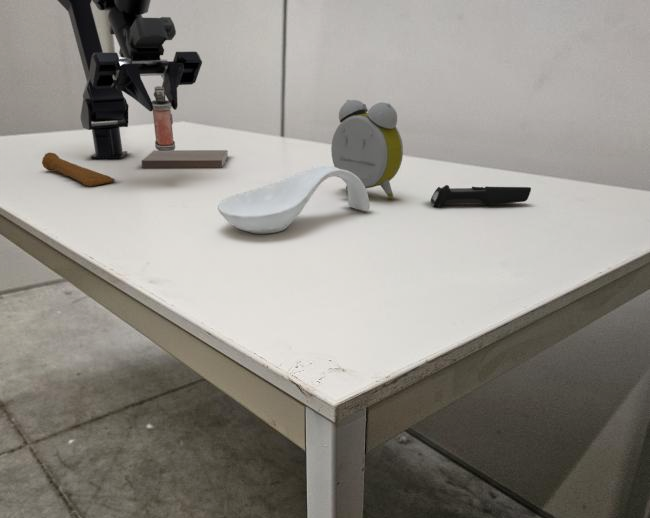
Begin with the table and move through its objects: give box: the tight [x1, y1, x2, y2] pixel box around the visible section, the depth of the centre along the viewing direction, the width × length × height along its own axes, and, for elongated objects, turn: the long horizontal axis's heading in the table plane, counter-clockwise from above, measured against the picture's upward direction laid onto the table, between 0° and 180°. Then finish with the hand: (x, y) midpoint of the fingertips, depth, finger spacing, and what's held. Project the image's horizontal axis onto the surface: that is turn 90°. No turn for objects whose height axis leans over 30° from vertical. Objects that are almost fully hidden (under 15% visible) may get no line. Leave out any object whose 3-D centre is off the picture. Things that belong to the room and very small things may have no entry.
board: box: [141, 149, 229, 169], centre depth 129 cm, size 12×16×2 cm
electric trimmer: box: [430, 184, 532, 208], centre depth 98 cm, size 4×16×3 cm, turn 91°
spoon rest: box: [217, 165, 371, 235], centre depth 88 cm, size 24×12×7 cm, turn 127°
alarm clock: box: [330, 99, 404, 200], centre depth 100 cm, size 12×7×15 cm, turn 47°
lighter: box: [151, 85, 176, 151], centre depth 107 cm, size 8×3×10 cm, turn 16°
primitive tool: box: [41, 152, 115, 187], centre depth 115 cm, size 19×6×4 cm, turn 51°
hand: (163, 108), depth 105 cm, fingers closed on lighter, 4 cm apart
